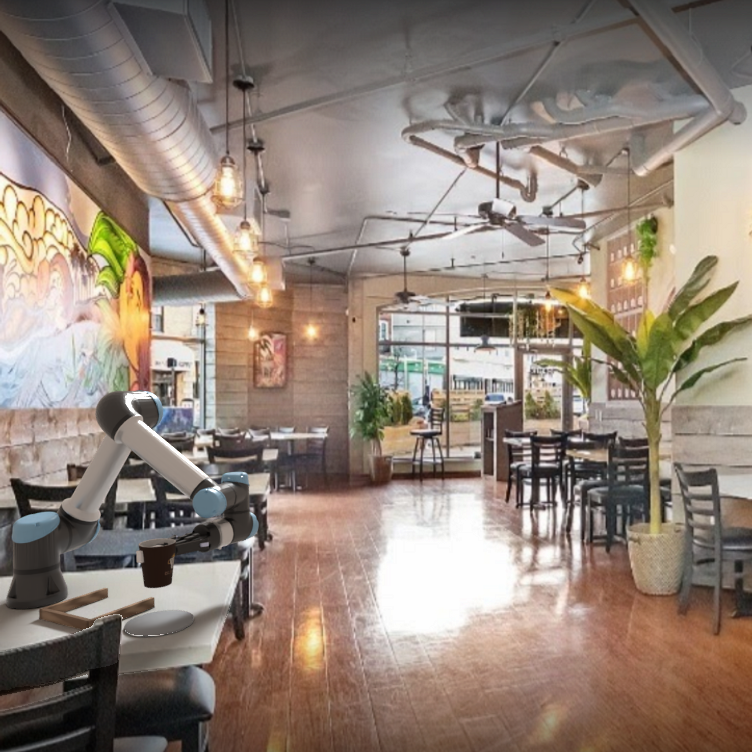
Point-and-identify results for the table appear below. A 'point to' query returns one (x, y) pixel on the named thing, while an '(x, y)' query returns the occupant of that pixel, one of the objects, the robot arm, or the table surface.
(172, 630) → the mat
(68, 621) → the brown wooden open frame
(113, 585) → the table surface
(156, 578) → the coffee mug
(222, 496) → the robot arm
